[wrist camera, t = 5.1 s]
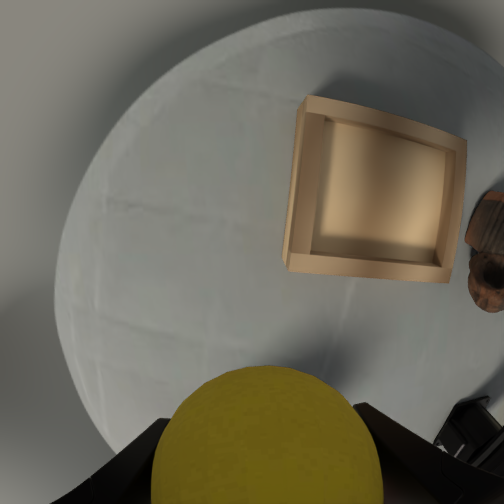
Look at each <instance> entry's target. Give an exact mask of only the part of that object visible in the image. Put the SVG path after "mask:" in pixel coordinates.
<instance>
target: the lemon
mask: <svg viewBox="0 0 504 504" xmlns="http://www.w3.org/2000/svg"><path fill="white" fill-rule="evenodd" d="M151 504H384V491H383V481H382V474H381V468H380V462H379V457H378V454H377V450H376V446H375V444H374V441H373V438H372V436H371V434H370V432H369V430H368V428H367V426H366V425H365V423H364V422H363V420H362V419H361V417H360V416H359V415H358V414H357V412H356V411H355V410H354V409H353V407H352V406H351V405H350V404H349V402H348V401H347V400H346V399H345V398H344V397H343V396H342V395H341V394H340V393H339V392H338V391H337V390H335V389H334V388H332V387H331V386H329V385H327V384H326V383H324V382H323V381H321V380H320V379H318V378H316V377H315V376H312V375H309V374H306V373H303V372H300V371H297V370H295V369H292V368H286V367H278V366H255V367H245V368H242V369H238V370H234V371H230V372H226V373H224V374H222V375H220V376H218V377H216V378H214V379H212V380H210V381H208V382H206V383H204V384H203V385H202V386H201V387H199V388H198V389H197V390H196V391H195V392H194V393H192V394H191V395H190V396H189V397H188V398H186V399H185V400H184V401H183V402H182V404H181V405H180V406H179V407H178V409H177V410H176V412H175V413H174V415H173V417H172V418H171V420H170V421H169V423H168V425H167V426H166V428H165V430H164V431H163V434H162V436H161V438H160V440H159V443H158V445H157V448H156V451H155V456H154V460H153V467H152V478H151Z"/></svg>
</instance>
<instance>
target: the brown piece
mask: <svg viewBox="0 0 504 504" xmlns="http://www.w3.org/2000/svg"><path fill="white" fill-rule="evenodd" d="M465 242H466V243H467V244H469V245H471V246H473V248H474V249H476V250H477V251H478V252H479V253H478V254H476V255H475V256H473V257H472V258H471V260H470V261H469V269H470V274H469V276H468V288H469V292H470V295H471V297H472V298H473V300H474V302H475V304H476V305H477V306H478V307H480V308H481V309H482V310H484V311H487V312H490V313H495V312H499V311H502V310H504V193H502V192H495V191H489V192H488V193H487V194H486V195H485V197H484V198H483V200H482V201H481V202H480V204H479V206H478V207H477V208H476V210H475V213H474V215H473V217H472V219H471V221H470V223H469V227H468V230H467V233H466V236H465Z"/></svg>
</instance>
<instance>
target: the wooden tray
mask: <svg viewBox="0 0 504 504" xmlns="http://www.w3.org/2000/svg"><path fill="white" fill-rule="evenodd" d="M466 158H467V140H465V139H462V138H460V137H457V136H455V135H452V134H450V133H447V132H445V131H442V130H439V129H437V128H434V127H431V126H428V125H425V124H422V123H420V122H417V121H414V120H410V119H407V118H404V117H401V116H398V115H394V114H391V113H387V112H384V111H380V110H376V109H373V108H369V107H365V106H361V105H357V104H352V103H348V102H343V101H339V100H334V99H329V98H324V97H319V96H313V95H307V96H306V98H305V99H304V100H303V102H302V103H301V105H300V106H299V108H298V109H297V120H296V131H295V142H294V152H293V162H292V172H291V181H290V191H289V200H288V209H287V217H286V226H285V234H284V243H283V251H282V259H283V261H284V263H285V265H286V267H287V269H288V271H291V272H303V273H315V274H327V275H339V276H352V277H365V278H378V279H391V280H405V281H420V282H435V283H449V281H450V276H451V272H452V268H453V263H454V258H455V253H456V248H457V242H458V236H459V230H460V223H461V216H462V208H463V200H464V189H465V177H466Z"/></svg>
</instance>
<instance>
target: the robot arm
mask: <svg viewBox="0 0 504 504" xmlns="http://www.w3.org/2000/svg"><path fill="white" fill-rule="evenodd" d="M489 401H490V397H489V396H485V397H482V398H479V399H475V400H472V401H468V402H465V403H461V404H458V405H456V406H455V407H454V408H453V410H452V412H451V414H450V415H449V417H448V419H447V421H446V422H445V424H444V426H443V428H442V429H441V431H440V433H439V434H438V436H437V437H436V439H435V441H434V442H433V444H431V443H430V442H428V441H426V440H425V439H423V438H421V437H420V436H418V435H416V434H415V433H413V432H411V431H410V430H408V429H407V428H405V427H403V426H402V425H400V424H399V423H397V422H396V421H394V420H392V419H391V418H389V417H388V416H386V415H385V414H383V413H382V412H380V411H378V410H377V409H375V408H374V407H372V406H371V405H369V404H368V403H366V402H363V403H358V404H355V405H353V409H354V410H355V411H356V412H357V414H358V415H359V416H360V417H361V419H362V420H363V422H364V423H365V425H366V426H367V428H368V430H369V432H370V434H371V436H372V438H373V441H374V444H375V446H376V450H377V454H378V457H379V462H380V468H381V474H382V481H383V491H384V504H504V426H503V427H502V426H501V425H500V424H499V423H498V422H497V421H496V419H495V418H494V417H493V416H492V415H491V414H490V413H489V412H488V411H487V410H486V409H485V408H486V406H487V404H488V403H489ZM170 420H171V419H170V418H159V419H157V420H156V421H155V422H154V423H153V424H152V425H151V426H149V427H148V428H147V429H146V430H145V431H144V432H143V433H141V434H140V435H139V436H138V437H137V438H136V439H135V440H133V441H132V442H131V443H130V444H129V445H128V446H126V447H125V448H124V449H123V450H122V451H121V452H119V453H118V454H117V455H116V456H115V457H114V458H112V459H111V460H110V461H109V462H108V463H106V464H105V465H104V466H103V467H101V468H100V469H99V470H98V471H97V472H95V473H94V474H93V475H92V476H91V477H90V478H88V479H87V480H85V481H84V482H83V483H81V484H80V485H79V486H77V487H76V488H74V489H73V490H72V491H70V492H69V493H67V494H65V495H64V496H62V497H61V498H59V499H57V500H56V501H54V502H52V503H50V504H151V478H152V467H153V460H154V456H155V451H156V448H157V445H158V443H159V440H160V438H161V436H162V434H163V431H164V430H165V428H166V426H167V425H168V423H169V421H170ZM440 445H443V446H444V448H445V449H446V451H447V452H448V453H447V452H445V451H443V452H442V450H441V449H440V448H438V447H437V446H440Z"/></svg>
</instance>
